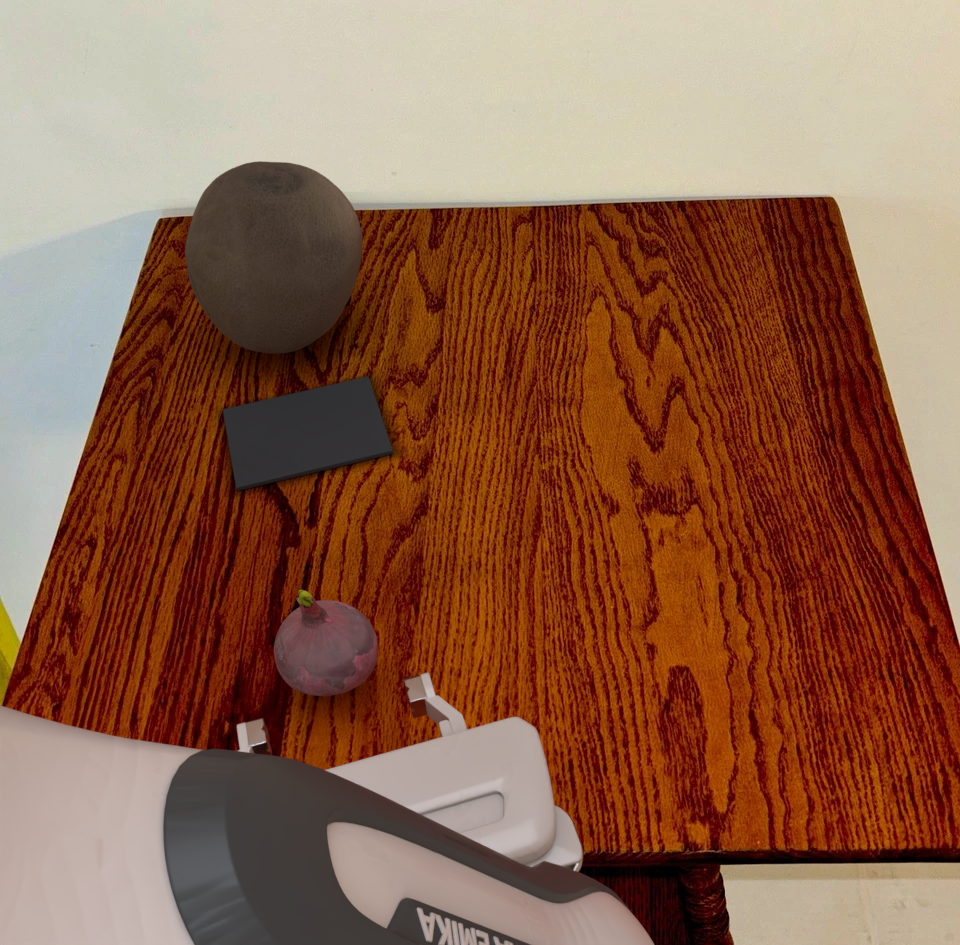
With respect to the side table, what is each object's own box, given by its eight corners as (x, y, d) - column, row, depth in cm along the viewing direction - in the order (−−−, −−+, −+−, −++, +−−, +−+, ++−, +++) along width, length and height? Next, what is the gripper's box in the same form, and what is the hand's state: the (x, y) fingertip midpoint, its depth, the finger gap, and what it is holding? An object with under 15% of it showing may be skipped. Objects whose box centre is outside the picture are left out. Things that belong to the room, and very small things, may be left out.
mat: (237, 491, 77) (235, 487, 77) (223, 412, 83) (222, 409, 83) (393, 453, 79) (392, 450, 79) (369, 379, 85) (368, 376, 85)
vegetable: (274, 663, 67) (241, 567, 59) (364, 627, 68) (342, 530, 61) (303, 740, 63) (270, 647, 56) (397, 701, 64) (378, 606, 57)
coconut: (350, 391, 84) (320, 234, 73) (187, 378, 86) (134, 224, 75) (390, 286, 94) (368, 133, 83) (242, 277, 96) (202, 127, 85)
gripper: (598, 856, 48) (510, 623, 58) (156, 993, 45) (138, 723, 54) (594, 907, 53) (513, 683, 62) (192, 1035, 50) (170, 779, 59)
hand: (335, 702), depth 58 cm, fingers open, 8 cm apart
